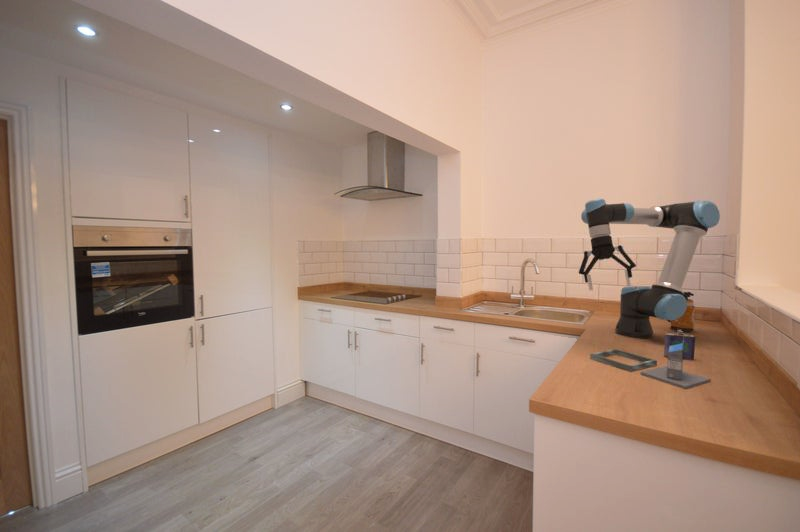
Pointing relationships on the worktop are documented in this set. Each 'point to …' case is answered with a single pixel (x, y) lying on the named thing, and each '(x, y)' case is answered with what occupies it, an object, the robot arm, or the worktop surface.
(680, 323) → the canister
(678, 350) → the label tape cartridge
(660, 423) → the worktop surface
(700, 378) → the mat
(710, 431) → the worktop surface
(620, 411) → the worktop surface
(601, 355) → the holder
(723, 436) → the worktop surface
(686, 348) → the flask
